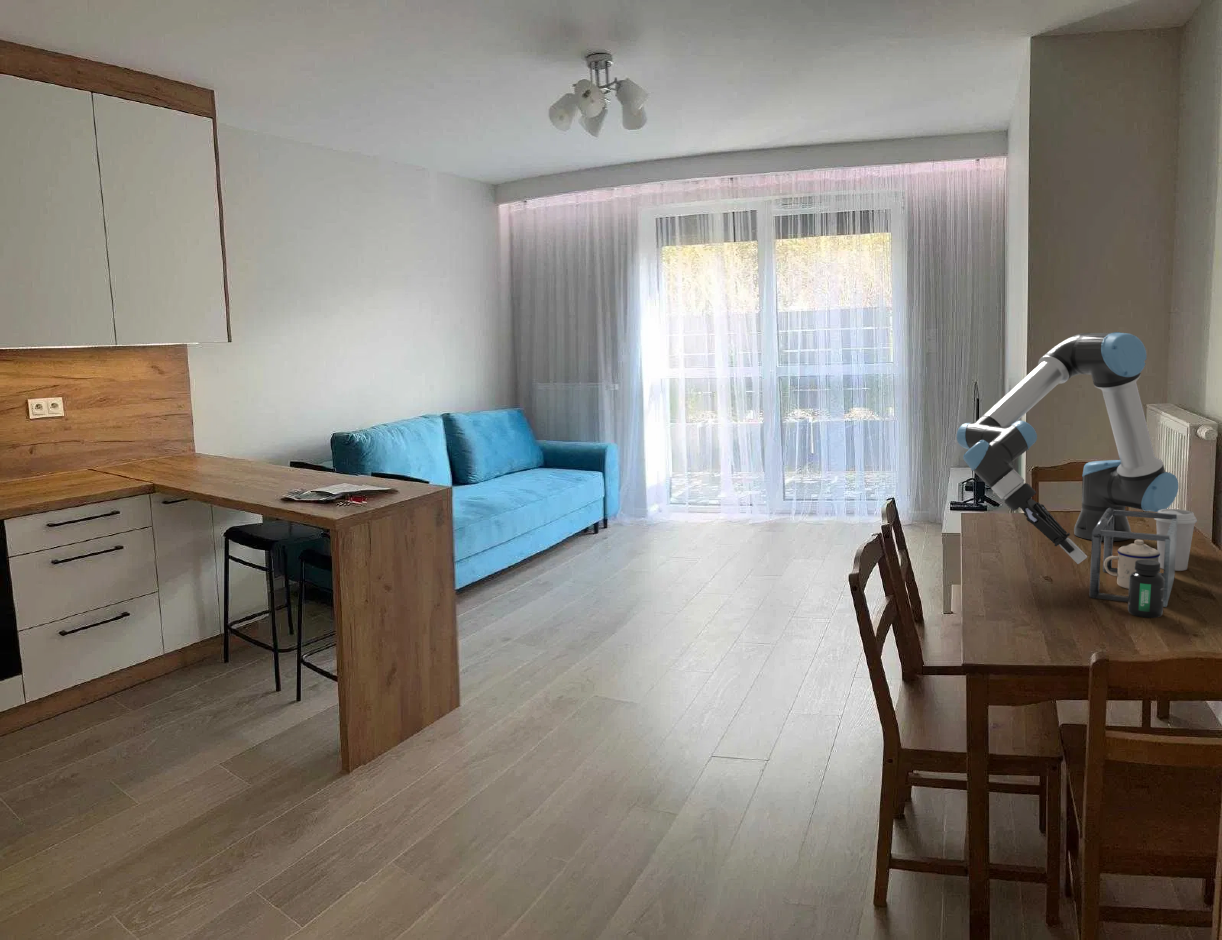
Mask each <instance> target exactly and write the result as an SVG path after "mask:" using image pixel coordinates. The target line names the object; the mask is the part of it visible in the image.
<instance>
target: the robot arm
mask: <svg viewBox="0 0 1222 940" xmlns="http://www.w3.org/2000/svg"><path fill="white" fill-rule="evenodd" d="M1147 357H1148V356H1147V349H1146V347H1145V345H1144V343H1143V341H1142V340H1141V339H1140V338H1139V337H1138V336H1136V335H1134V334H1132V333H1129V332H1128V333H1126V332H1119V331H1115V332H1081V333H1077V334H1074V335H1072V336H1069V337H1067V338H1066V339H1063V341H1061V342H1059V343H1058V344H1055V346H1053V347H1052V348H1050V349H1049V350H1048V351H1047V352H1046V353H1045V354H1044V355H1042V356H1041V357H1040V358H1039V359H1038V362H1037V366H1036V367H1035V368H1034V369H1032V370H1031V371H1030V372H1029V373H1028V374H1027V375H1025V376H1024V377H1023V379H1021V380H1020V381H1019V382H1018V383H1017V384H1016V385H1014V387H1013V388H1011V389H1010V390H1009V391H1008V392H1007V393H1006V394H1004V395H1003V397H1001V398H1000V399H999V400H998V401H997V402H996V403H995V404H994V405H993V406H991V408H990V409H988V410H987V411H986V412H985V413H983V415H982V416H981V417H980V418H978V419H977V420H976V421H974V422H971V421H970V422H965V423H963V424H961V425H960V426H959V427H958V429H957V431H956V441H957V443H958V445H959V446H960V447H961V448H964V449H967V451H966V452H965V453H964V454H963V455H962V459H963V461H964V462H965V463H966V465H967V466H968V467H969V468H970V469H971V471H973V472H974V473H975V474H976V475H977V476H978V477H979V478H980V479H981V480H982V481H983V482H984V483H985V484H986V485H987V486H988V487H989V488H990V489H991V490H992V495H997V496H998V497H999V498H1000V499H1001V500H1003V499H1004V504H1005V505H1006V506H1007V507H1008V508H1009V509H1010V510H1011V511H1013V512H1014V511H1017V510H1018V509H1020V510H1021V511H1022V512H1023V515H1024V516H1025V517H1026V518H1025V519H1026V521H1027V522H1029V523H1030V524H1032V525H1033V526H1034V527H1035V528H1036V529H1037V530H1038V531H1040V532H1041V533H1042V534H1043V535H1044V536H1045V537H1046V538H1047V539H1048V540H1049V541H1051V542H1052V544H1054V547H1058V546H1059V547H1060V548H1061V549H1062V550H1063V551H1064V552H1065V553H1066V554H1067V555H1068V556H1069V557H1070V558H1071V559H1072V560H1073V561H1074V562H1075V563H1076V564H1077V565H1079V564H1080V563H1082V562H1083V561H1085V560H1086V559H1088V555H1086V553H1085V552H1084V551H1083V550H1082V549H1081V548H1080V547H1079V546H1078V545H1077V544H1076V543H1075V542H1074V541H1073V540H1072V539H1071V538H1070V536H1071V533H1070V532H1068V533H1067V531H1066V530H1065V529H1064V528H1063V527H1062V526H1061V524H1060V523H1059V522H1058V521H1057V520H1056V518H1055V517H1054V516H1053V515H1052V514H1051V513H1050V512H1049V511H1048V509H1047V508H1046V507H1045V505H1044V504H1042V503H1040V502H1037V501H1035V500H1034V498H1033V497H1034V496H1035V495H1036V494H1037V491H1036V490H1035V489H1034V488H1033V487H1032V486H1031V484H1029V483H1028V482H1024V481H1025V478H1023V477H1022V476H1021V475H1020V474H1019V472H1017V471H1016V470H1015V469H1014V467H1012V466H1011V465H1010V464H1012V463H1013V462H1014V461H1015V460H1016V459H1018V458H1019V457H1020V456H1021V455H1023V454H1024V453H1026V452H1027V451H1029V450H1030V448H1031V447H1032V446H1033V445H1034V444H1035V443H1036V442H1037V440H1038V434H1037V432H1036V430H1035V428H1034V427H1033V426H1032V425H1031V424H1030V423H1028V422H1027V421H1025V420H1020V419H1021V418H1022V417H1024V416H1025V415H1026V414H1027V413H1028V412H1029V411H1030V410H1031V409H1032V408H1033V407H1035V406H1036V405H1037V404H1038V403H1039V402H1040V401H1041V400H1042V399H1043V398H1044V397H1046V396H1047V395H1048V394H1049V393H1050V392H1051V391H1053V389H1054V388H1055V387H1057V385H1059V384H1065V383H1066V382H1067V381H1069V380H1070V379H1072V377H1076V376H1079V375H1089V376H1091V379H1092V384H1093V386H1094V388H1096V389H1099V390H1101V392H1102V396H1103V400H1104V404H1105V408H1106V412H1107V416H1108V419H1109V422H1110V427H1111V431H1112V433H1113V438H1114V442H1115V445H1116V449H1117V454H1118V457H1119V459H1109V460H1094V461H1089V462H1086V463H1085V464H1084V466H1083V471H1082V475H1081V476H1082V479H1081V480H1082V485H1081V511H1080V512H1079V515H1078V517H1077V520H1076V523H1075V525H1074V526H1073V527H1074V530H1073V532H1074V536H1075V537H1077V538H1082V539H1086V540H1091V541H1092V531H1093V529H1094V528H1095V526H1096V525H1097V523H1098V522H1099V520H1100V519H1101V517H1102V516H1103V514H1104V513H1105V511H1106V510H1107V509H1108V508H1113V509H1114V510H1124V511H1126V508H1132V509H1137V510H1142V511H1143V512H1152V513H1158V511H1159V510H1161V509H1169V507H1171V505H1172V504H1173V503H1174V501H1175V500H1176V498H1177V496H1178V492H1179V480H1178V477H1177V475H1175V474H1173V473H1171V472H1170V471H1169V472H1168V471H1166V469H1165V466H1164V462H1163V461H1162V459H1161V458H1158V457H1156V455H1155V451H1154V448H1153V445H1152V438H1151V436H1150V431H1149V428H1148V424H1147V420H1146V417H1145V411H1144V408H1143V403H1142V401H1141V395H1140V392H1139V388H1138V384H1137V381H1138V380H1139V378H1141V376H1142V375H1141V374H1142V373H1141V372H1142V371H1143V370H1144V368H1145V367H1146V362H1145V361H1146V360H1147ZM1104 530H1105V529H1104ZM1113 531H1123V532H1132V529H1131V526H1130V522H1129V519H1128V516H1118V515H1114V530H1113ZM1130 539H1131V538H1121V537H1113V542H1120V541H1127V540H1130ZM1101 542H1104V536H1102V538H1101Z"/></svg>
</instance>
